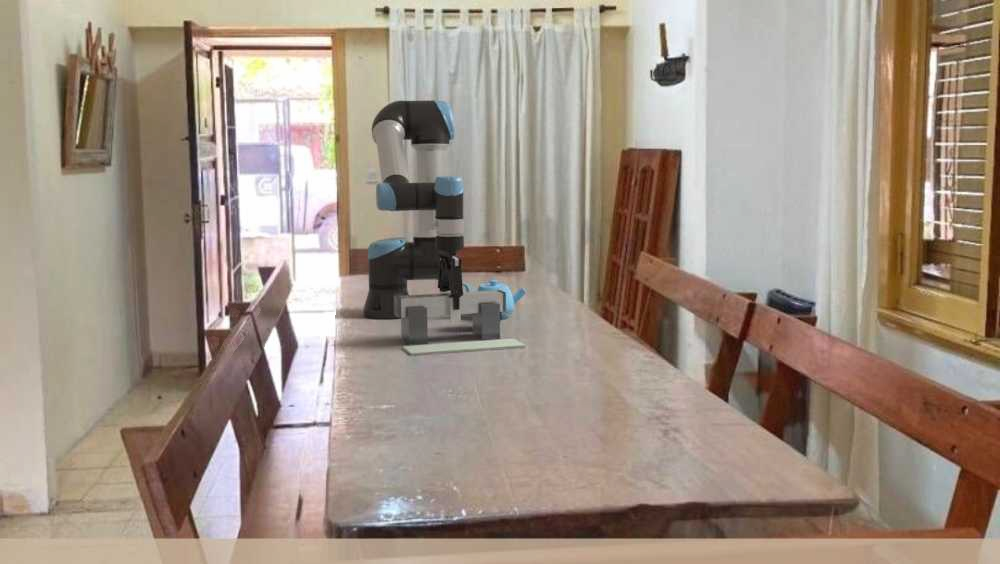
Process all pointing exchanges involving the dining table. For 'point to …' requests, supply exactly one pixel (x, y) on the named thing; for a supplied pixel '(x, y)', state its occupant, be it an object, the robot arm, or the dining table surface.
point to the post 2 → (487, 322)
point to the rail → (448, 302)
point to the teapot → (494, 287)
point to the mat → (463, 347)
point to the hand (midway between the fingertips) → (450, 318)
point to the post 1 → (415, 326)
